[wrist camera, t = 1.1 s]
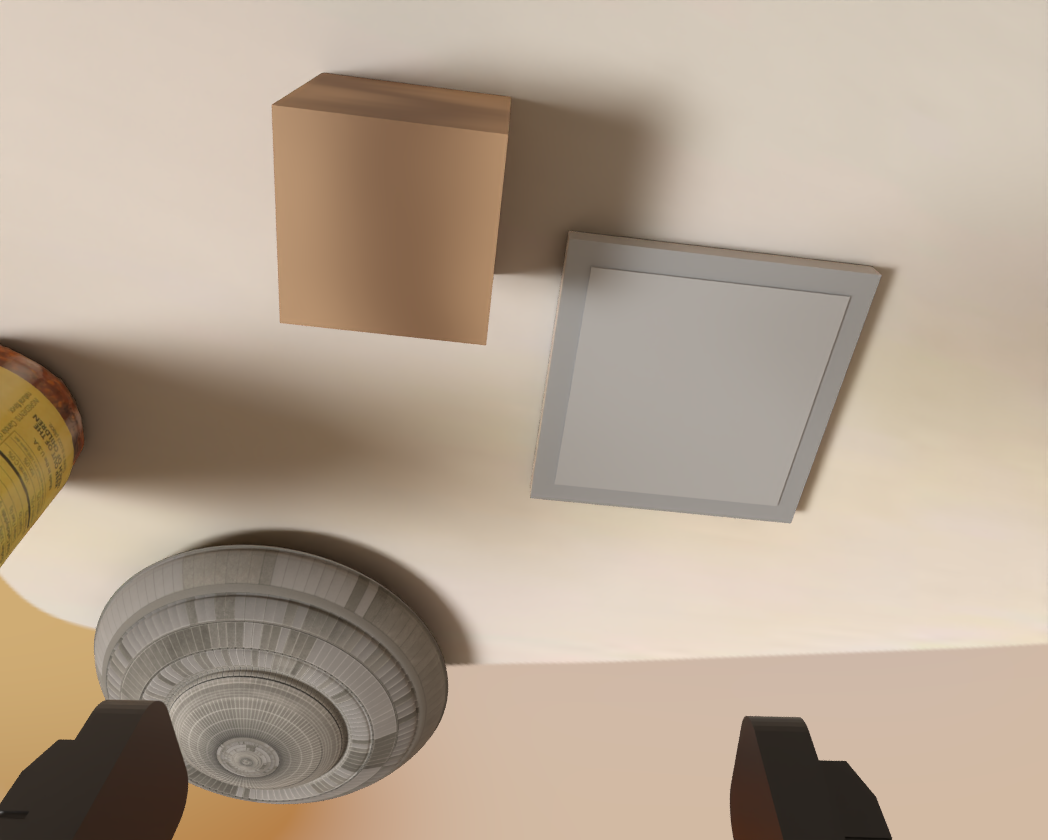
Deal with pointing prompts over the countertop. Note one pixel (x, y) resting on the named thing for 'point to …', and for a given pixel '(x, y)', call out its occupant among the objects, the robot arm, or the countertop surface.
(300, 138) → the walnut cube
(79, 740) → the robot arm
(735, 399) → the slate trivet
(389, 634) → the flying saucer
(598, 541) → the countertop surface
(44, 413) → the sauce bottle
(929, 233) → the countertop surface
